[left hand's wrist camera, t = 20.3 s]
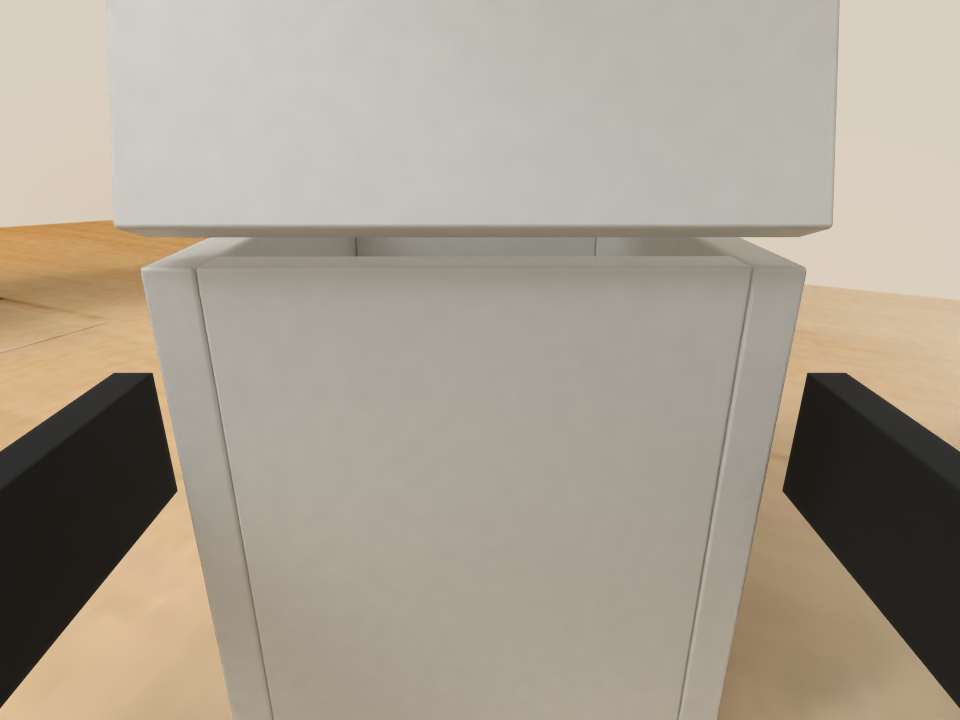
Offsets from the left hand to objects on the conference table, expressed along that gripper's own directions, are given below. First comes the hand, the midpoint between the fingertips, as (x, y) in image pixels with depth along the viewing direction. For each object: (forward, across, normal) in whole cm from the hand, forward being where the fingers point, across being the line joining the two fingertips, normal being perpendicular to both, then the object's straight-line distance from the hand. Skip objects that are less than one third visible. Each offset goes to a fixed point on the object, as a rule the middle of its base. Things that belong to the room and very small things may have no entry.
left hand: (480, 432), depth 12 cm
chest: (+4, 0, -7) cm, 8 cm away
